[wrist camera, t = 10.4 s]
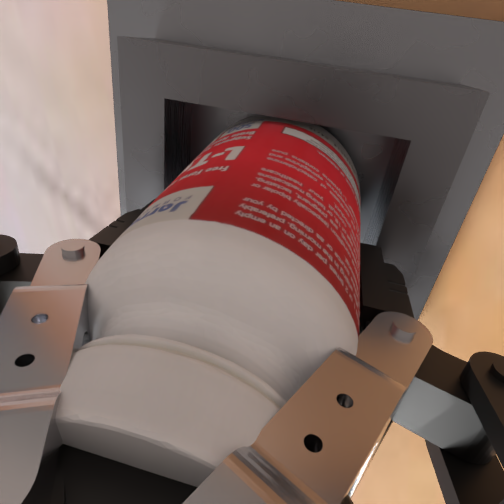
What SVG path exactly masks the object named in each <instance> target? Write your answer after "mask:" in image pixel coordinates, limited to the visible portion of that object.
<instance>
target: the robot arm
mask: <svg viewBox="0 0 504 504" xmlns="http://www.w3.org/2000/svg"><path fill="white" fill-rule="evenodd" d="M154 200H155V199H154ZM154 200H152V201H151V202H150V203H149V204H147V205H146V206H145V207H143V208H142V209H136V210H133V211H130V212H127V213H125V214H123V215H122V216H121V217H119V218H118V219H117V220H116V221H114V222H112V223H111V224H110V225H109V226H107V227H106V228H104V229H103V230H101V231H100V232H99V233H97V234H96V235H95V236H93V237H92V238H90V239H89V240H86V239H69V240H64V241H60V242H57V243H55V244H53V245H51V246H50V247H48V248H47V249H46V251H45V253H44V254H26V253H19V251H18V246H17V242H16V240H15V239H14V238H12V237H10V236H6V235H0V504H353V502H352V500H351V498H352V496H353V494H354V492H355V490H356V489H357V487H358V485H359V483H360V481H361V479H362V477H363V475H364V473H365V471H366V470H367V468H368V466H369V464H370V462H371V461H372V459H373V457H374V455H375V453H376V452H377V450H378V448H379V446H380V444H381V442H382V441H383V439H384V437H385V435H386V433H387V432H388V430H389V428H390V426H391V424H392V423H393V421H394V422H395V423H397V424H399V425H401V426H403V427H404V428H406V429H408V430H410V431H412V432H413V433H415V434H417V435H419V436H420V437H422V438H424V439H425V442H426V446H427V449H428V452H429V455H430V458H431V461H432V464H433V467H434V470H435V473H436V476H437V479H438V482H439V485H440V488H441V491H442V494H443V497H444V500H445V503H446V504H504V470H503V468H504V356H501V355H498V354H495V353H491V352H477V353H475V354H473V355H472V356H471V357H470V359H469V361H468V362H466V361H463V360H461V359H459V358H457V357H454V356H452V355H450V354H448V353H446V352H444V351H442V350H440V349H438V348H437V347H435V346H434V345H432V343H433V337H432V335H431V333H430V331H429V330H428V329H427V328H426V327H425V326H424V325H423V324H422V323H421V322H419V321H418V320H416V319H415V318H414V314H413V311H412V307H411V303H410V299H409V295H407V294H408V291H407V287H406V286H405V285H406V284H405V280H404V276H403V274H402V273H401V272H400V271H399V270H398V268H397V267H396V266H395V265H393V264H388V263H384V260H383V255H382V249H381V247H379V246H375V245H370V244H365V243H360V317H359V319H360V335H359V336H358V346H357V353H356V356H354V355H353V354H351V353H350V352H348V351H346V350H345V349H343V348H340V347H339V348H337V349H336V350H335V351H334V352H333V353H332V354H331V355H330V356H329V357H328V358H327V359H326V360H325V361H324V363H323V364H322V365H321V366H320V367H319V368H318V369H317V370H316V371H315V372H314V373H313V374H312V376H311V377H310V378H309V379H308V380H307V381H306V382H305V383H304V384H303V385H302V386H301V387H300V389H299V390H298V391H297V392H296V393H295V394H294V395H293V396H292V397H291V398H290V399H289V400H288V401H287V403H286V404H285V405H284V406H283V407H282V408H281V409H280V410H279V411H278V412H277V413H276V414H275V416H274V417H273V418H272V419H271V420H270V421H269V422H268V423H267V424H266V425H265V426H264V427H263V429H262V430H261V431H260V433H259V435H258V437H257V439H256V441H255V442H254V443H253V444H252V445H250V446H248V447H245V446H244V447H240V448H238V449H236V450H235V451H233V452H232V453H231V454H230V455H229V456H227V457H226V458H225V459H224V460H223V461H222V462H221V463H220V464H219V466H218V467H217V468H216V469H215V470H214V471H213V472H212V473H211V474H210V475H209V476H208V477H207V478H206V479H205V480H204V481H203V482H202V483H201V484H200V486H199V487H195V486H192V485H189V484H186V483H183V482H180V481H177V480H174V479H170V478H167V477H164V476H161V475H158V474H155V473H152V472H149V471H146V470H143V469H139V468H136V467H133V466H130V465H127V464H124V463H121V462H118V461H115V460H112V459H109V458H106V457H102V456H99V455H96V454H93V453H90V452H87V451H84V450H81V449H78V448H75V447H72V446H69V445H65V444H62V441H63V440H62V438H61V435H60V432H59V429H58V427H57V424H56V419H55V418H56V411H57V407H58V404H59V400H60V396H61V393H62V392H61V391H60V387H61V384H62V382H63V380H64V379H65V377H66V375H67V372H68V369H69V365H70V362H71V359H72V356H73V354H74V353H75V352H77V351H78V349H79V348H80V347H81V346H83V345H84V344H87V343H89V342H91V338H90V329H89V318H88V284H85V283H86V280H87V278H88V276H89V274H90V273H91V271H92V269H93V268H94V266H95V265H96V263H97V262H98V260H99V259H100V258H101V257H102V256H103V254H104V253H105V252H106V251H107V250H108V248H109V247H110V246H111V245H112V244H113V243H114V242H115V241H116V240H117V239H118V238H119V236H120V235H121V234H122V233H123V232H124V231H125V230H126V229H127V228H128V227H129V226H130V225H131V224H132V223H133V222H134V221H135V220H136V219H137V218H138V217H139V216H140V215H141V214H142V213H143V212H144V211H145V209H146V208H148V207H149V205H150V204H151V203H152V202H153V201H154ZM496 454H497V456H498V458H499V460H500V462H501V464H502V466H503V468H502V466H501V464H500V462H499V460H498V458H497V456H496Z"/></svg>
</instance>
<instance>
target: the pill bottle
mask: <svg viewBox="0 0 504 504" xmlns="http://www.w3.org/2000/svg"><path fill="white" fill-rule="evenodd" d="M360 213H361V197H360V185H359V179H358V175H357V172H356V169H355V167H354V164H353V162H352V160H351V158H350V156H349V155H348V153H347V151H346V150H345V149H344V147H343V146H342V145H341V143H340V142H339V141H338V140H337V139H336V138H335V137H334V136H333V135H331V134H330V133H329V132H328V131H326V130H325V129H324V128H322V127H320V126H319V125H317V124H311V123H305V122H299V121H294V120H288V119H282V118H276V117H270V116H264V115H256V116H252V117H249V118H246V119H243V120H241V121H239V122H237V123H235V124H233V125H232V126H230V127H229V128H227V129H226V130H224V131H223V132H222V133H220V134H219V135H218V136H217V137H216V138H215V139H214V140H213V141H212V142H211V143H210V144H209V145H208V146H207V147H206V148H205V149H204V150H203V151H202V152H201V153H200V154H199V155H198V156H197V157H196V158H195V159H194V160H193V161H192V163H191V164H190V165H188V166H187V167H186V168H185V169H184V170H183V172H182V173H181V174H180V175H179V176H178V177H177V178H176V179H175V180H174V181H173V182H172V183H171V184H170V185H169V186H168V187H167V188H166V189H165V190H164V191H163V192H162V193H161V194H160V195H159V196H158V197H157V198H156V199H155V200H154V201H153V202H152V203H151V204H150V205H149V207H148V208H146V209H145V211H144V212H143V213H142V214H141V215H140V216H139V217H138V218H137V219H136V220H135V221H134V222H133V223H132V224H131V225H130V226H129V227H128V228H127V229H126V230H125V231H124V232H123V233H122V234H121V235H120V236H119V238H118V239H117V240H116V241H115V242H114V243H113V244H112V245H111V246H110V247H109V248H108V250H107V251H106V252H105V253H104V254H103V256H102V257H101V258H100V259H99V260H98V262H97V263H96V265H95V266H94V268H93V269H92V271H91V273H90V274H89V276H88V278H87V280H86V283H85V284H88V318H89V329H90V338H91V342H89V343H87V344H84V345H83V346H81V347H80V348H79V349H78V351H77V352H75V353H74V354H73V356H72V359H71V362H70V365H69V369H68V372H67V375H66V377H65V379H64V380H63V382H62V384H61V387H60V391H61V392H62V393H61V396H60V400H59V404H58V407H57V411H56V418H55V419H56V424H57V427H58V429H59V432H60V435H61V438H62V440H63V441H62V444H65V445H69V446H72V447H75V448H78V449H81V450H84V451H87V452H90V453H93V454H96V455H99V456H102V457H106V458H109V459H112V460H115V461H118V462H121V463H124V464H127V465H130V466H133V467H136V468H139V469H143V470H146V471H149V472H152V473H155V474H158V475H161V476H164V477H167V478H170V479H174V480H177V481H180V482H183V483H186V484H189V485H192V486H195V487H199V486H200V484H201V483H202V482H203V481H204V480H205V479H206V478H207V477H208V476H209V475H210V474H211V473H212V472H213V471H214V470H215V469H216V468H217V467H218V466H219V464H220V463H221V462H222V461H223V460H224V459H225V458H226V457H227V456H229V455H230V454H231V453H232V452H233V451H235V450H236V449H238V448H240V447H244V446H245V447H248V446H250V445H252V444H253V443H254V442H255V441H256V439H257V437H258V435H259V433H260V431H261V430H262V429H263V427H264V426H265V425H266V424H267V423H268V422H269V421H270V420H271V419H272V418H273V417H274V416H275V414H276V413H277V412H278V411H279V410H280V409H281V408H282V407H283V406H284V405H285V404H286V403H287V401H288V400H289V399H290V398H291V397H292V396H293V395H294V394H295V393H296V392H297V391H298V390H299V389H300V387H301V386H302V385H303V384H304V383H305V382H306V381H307V380H308V379H309V378H310V377H311V376H312V374H313V373H314V372H315V371H316V370H317V369H318V368H319V367H320V366H321V365H322V364H323V363H324V361H325V360H326V359H327V358H328V357H329V356H330V355H331V354H332V353H333V352H334V351H335V350H336V349H337V348H339V347H340V348H343V349H345V350H346V351H348V352H350V353H351V354H353V355H354V356H356V353H357V346H358V336H359V335H360V319H359V317H360V225H361V222H360Z"/></svg>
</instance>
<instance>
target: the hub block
mask: <svg viewBox="0 0 504 504" xmlns="http://www.w3.org/2000/svg"><path fill="white" fill-rule="evenodd" d="M107 4H108V20H109V36H110V51H111V67H112V83H113V99H114V115H115V130H116V146H117V162H118V178H119V194H120V209H121V216H122V215H123V214H125V213H127V212H130V211H133V210H136V209H142V208H143V207H145V206H146V205H147V204H149V203H150V202H151V201H152V200H154V199H156V198H157V197H158V196H159V195H160V194H161V193H162V192H163V191H164V190H165V189H166V188H167V187H168V186H169V185H170V184H171V183H172V182H173V181H174V180H175V179H176V178H177V177H178V176H179V175H180V174H181V173H182V172H183V170H184V169H185V168H186V167H187V166H188V165H190V164H191V163H192V161H193V160H194V159H195V158H196V157H197V156H198V155H199V154H200V153H201V152H202V151H203V150H204V149H205V148H206V147H207V146H208V145H209V144H210V143H211V142H212V141H213V140H214V139H215V138H216V137H217V136H218V135H219V134H220V133H222V132H223V131H224V130H226V129H227V128H229V127H230V126H232V125H233V124H235V123H237V122H239V121H241V120H243V119H246V118H249V117H252V116H256V115H264V116H270V117H276V118H282V119H288V120H294V121H299V122H305V123H311V124H317V125H319V126H320V127H322V128H324V129H325V130H326V131H328V132H329V133H330V134H331V135H333V136H334V137H335V138H336V139H337V140H338V141H339V142H340V143H341V145H342V146H343V147H344V149H345V150H346V151H347V153H348V155H349V156H350V158H351V160H352V162H353V164H354V167H355V169H356V172H357V175H358V179H359V185H360V197H361V213H360V222H361V225H360V243H365V244H370V245H375V246H379V247H381V249H382V255H383V260H384V263H388V264H393V265H395V266H396V267H397V268H398V270H399V271H400V272H401V273H402V274H403V276H404V280H405V284H406V285H405V286H406V287H407V291H408V294H407V295H409V299H410V303H411V307H412V311H413V314H414V318H415V319H416V320H418V318H419V316H420V314H421V312H422V310H423V307H424V305H425V303H426V301H427V299H428V297H429V294H430V292H431V290H432V288H433V286H434V284H435V281H436V279H437V277H438V275H439V273H440V271H441V268H442V266H443V264H444V262H445V260H446V258H447V255H448V253H449V251H450V249H451V247H452V245H453V242H454V240H455V238H456V236H457V234H458V232H459V230H460V227H461V225H462V223H463V221H464V219H465V217H466V214H467V212H468V210H469V208H470V206H471V204H472V201H473V199H474V197H475V195H476V193H477V191H478V188H479V186H480V184H481V182H482V180H483V178H484V175H485V173H486V171H487V169H488V167H489V165H490V162H491V160H492V158H493V156H494V154H495V152H496V149H497V147H498V145H499V143H500V141H501V139H502V136H503V134H504V22H501V21H493V20H485V19H477V18H469V17H461V16H453V15H446V14H438V13H430V12H422V11H414V10H406V9H398V8H391V7H383V6H375V5H367V4H359V3H351V2H343V1H335V0H107Z"/></svg>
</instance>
